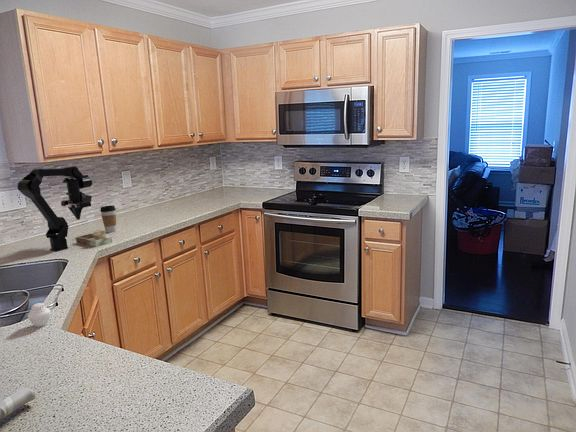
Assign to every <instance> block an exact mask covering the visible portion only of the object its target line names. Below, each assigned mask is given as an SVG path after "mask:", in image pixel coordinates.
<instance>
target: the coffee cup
mask: <svg viewBox="0 0 576 432" xmlns="http://www.w3.org/2000/svg"><path fill="white" fill-rule="evenodd" d="M116 210H117V209H116V206H115V205H105V206H104V205H103V206H100V209H99V212H100V215H101V219H102V224H103V226H104V230H105V232H106V234H109V233H115V232H117V214H116Z"/></svg>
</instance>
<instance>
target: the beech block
mask: <svg viewBox="0 0 576 432" xmlns="http://www.w3.org/2000/svg"><path fill="white" fill-rule="evenodd" d="M93 234H94V238H95V239H98V240H100V239H104V238H106V236H107V233H106V231H105V229H98V230H95V231H93Z"/></svg>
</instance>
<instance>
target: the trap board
mask: <svg viewBox="0 0 576 432" xmlns="http://www.w3.org/2000/svg"><path fill="white" fill-rule="evenodd" d="M75 241H76V244H81V245H86V246H91V247H96V248H97V247H98V248H99V247H102V246H104V245H108V244H111V243H113V238H112V236H109V235H106V238H104V239H100V240H98V239H95V238H94V233H87V234H84V235H81V236H76V237H75Z"/></svg>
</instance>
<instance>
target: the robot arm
mask: <svg viewBox="0 0 576 432" xmlns="http://www.w3.org/2000/svg"><path fill="white" fill-rule="evenodd" d="M44 177H61V178H64V179H63V180H62V183H63V184H66V189H67V192H66V193H65V194H66V195H67V196H68V199H64V200H61V201H60V205H61V207H66V206H68V207H67V209H68V210H69V211H70V212H71V213H72V215H73V216H74V217H75V219H76V220H77V221H79V220H81V215H82V210H83V209H84V208H89V207H92V198H93V197H92V195H88V194H86V193H83V191H81V190H82V189H87V188H91V187H92V185H93V181H92V178H90V177H89V174H83V173H82V172H81V171H80V170H79V168H78V167H77V166H75V165H73V166H72V165H71V166H69V165H67V166H66V165H65V166H62V167H58V168H33V169H32V170H31V171H30V173H28V174H27V175H25V176H24V177H23V178H22V179H21V180H20V181H18V183H17V186H16V187H17V190H18V191H19V192H20V193H21V194H22V195H23V196H25V197H27V198H28V199H30V200H31V202H32V203H33V204H34V206H35V207H36V208H37V209H38V211H39V212H40V214H41V215H42V216H43V217H44V219H45V220H46V222H47V227H48V229H47V232H46V233H45V236H46V238H47V239H49V242H50V243H49V244H50V248H49V251H53V252H59V251H63V250H67V249H69V248H70V247H69V246H68V241H67V238H66V237H68V233H69V232H68V231H69V225H68V224H69V222H68V221H66V218H65V217H63V216H62V217H61V216H57V214H56V213H55V212H54V210H53V208H52V207H51V206H50V205H49V203H48V202H47V201H46V200H45V198H44V196H43V195H42V194H41V187H40V185H41V184H42V181H43V178H44ZM80 189H81V190H80Z"/></svg>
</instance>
